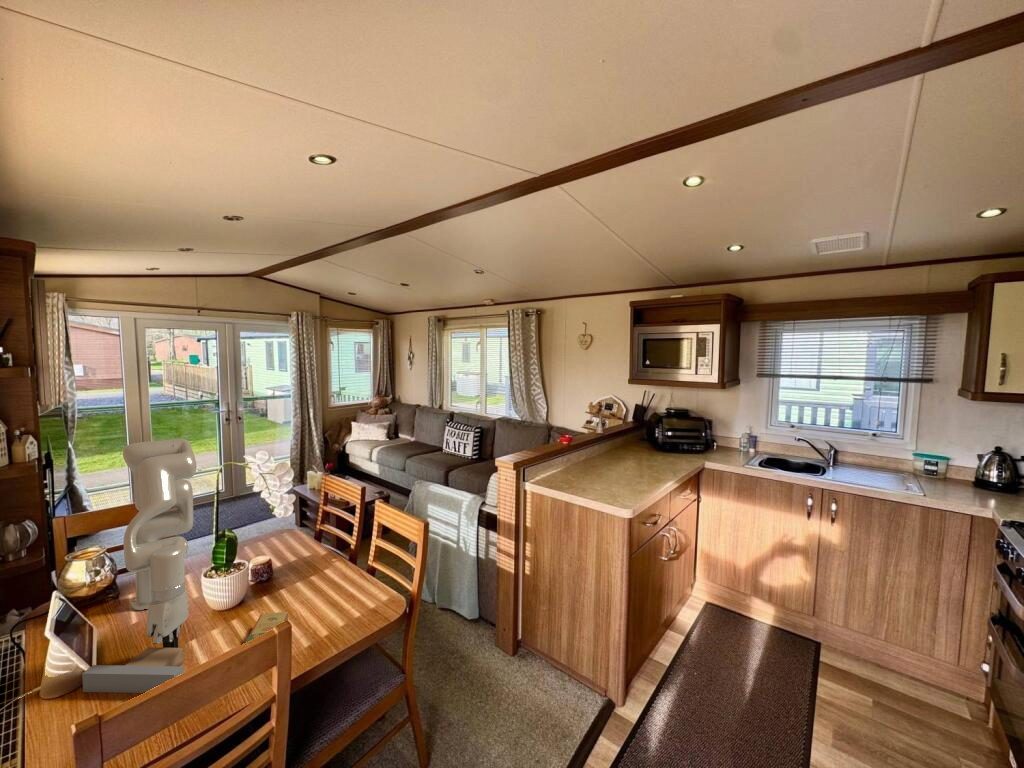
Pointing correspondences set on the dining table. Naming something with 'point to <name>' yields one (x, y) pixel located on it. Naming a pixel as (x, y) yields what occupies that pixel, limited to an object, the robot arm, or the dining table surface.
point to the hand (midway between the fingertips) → (170, 652)
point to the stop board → (127, 678)
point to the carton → (267, 623)
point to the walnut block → (158, 657)
